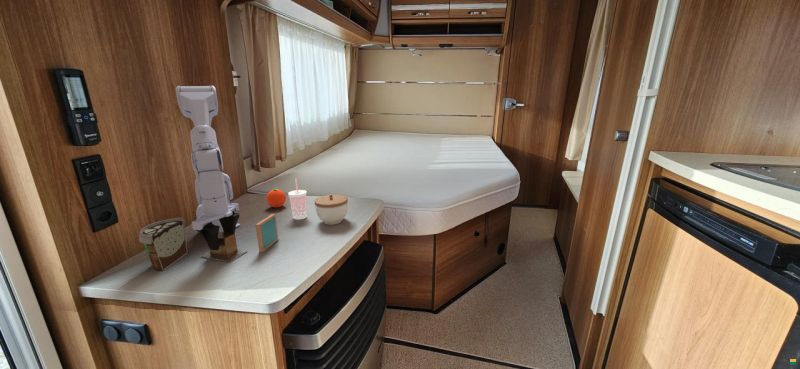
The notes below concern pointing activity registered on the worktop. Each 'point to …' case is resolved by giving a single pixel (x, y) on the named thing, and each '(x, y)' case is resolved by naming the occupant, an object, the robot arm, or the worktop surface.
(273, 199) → the clementine
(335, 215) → the lidded jar
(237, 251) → the tan block on plate
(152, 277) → the worktop surface
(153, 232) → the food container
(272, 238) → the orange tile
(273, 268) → the worktop surface
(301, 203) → the beverage cup
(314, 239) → the worktop surface
